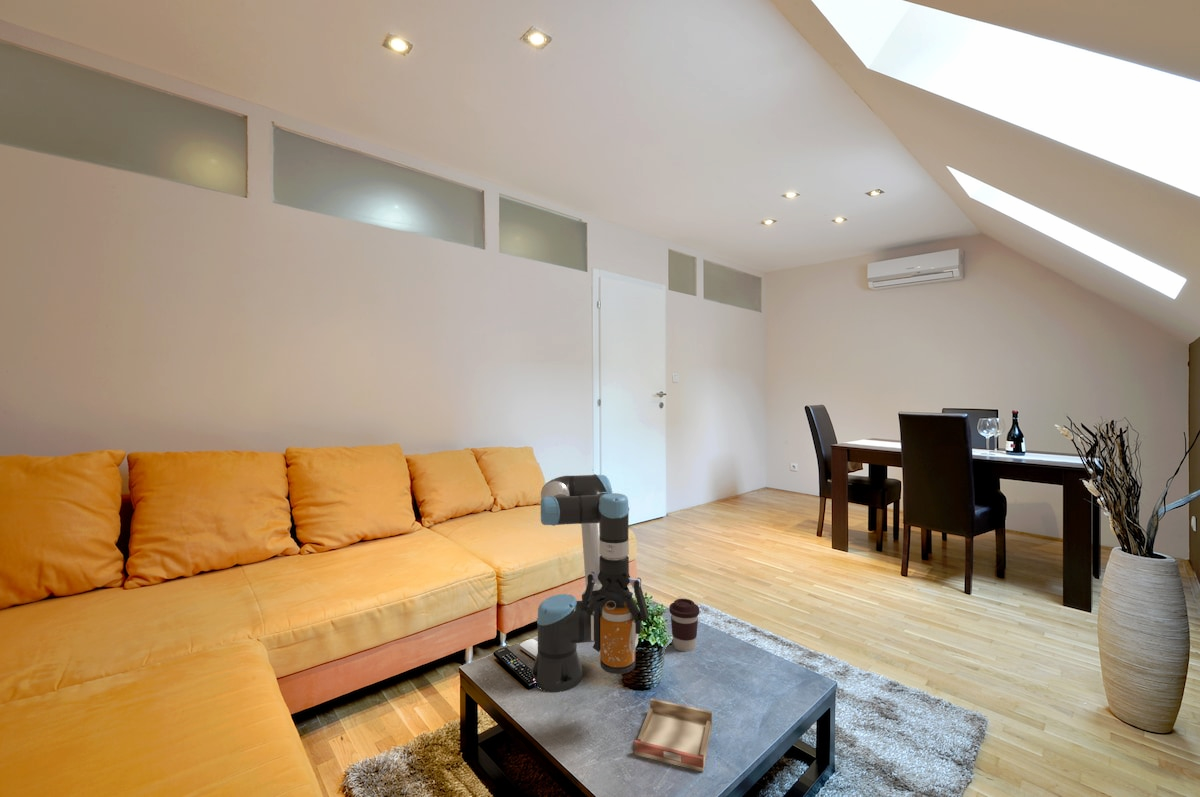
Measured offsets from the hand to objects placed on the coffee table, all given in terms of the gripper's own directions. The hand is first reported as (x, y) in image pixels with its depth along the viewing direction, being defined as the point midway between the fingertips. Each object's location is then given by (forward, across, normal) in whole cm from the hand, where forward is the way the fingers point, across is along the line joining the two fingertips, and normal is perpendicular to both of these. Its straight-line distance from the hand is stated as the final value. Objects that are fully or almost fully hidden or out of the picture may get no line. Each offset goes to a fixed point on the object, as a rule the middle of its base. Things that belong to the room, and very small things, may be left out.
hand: (614, 641), depth 123 cm
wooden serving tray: (+22, +16, 0) cm, 27 cm away
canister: (+7, 0, 0) cm, 7 cm away
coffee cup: (+22, +10, +44) cm, 51 cm away
